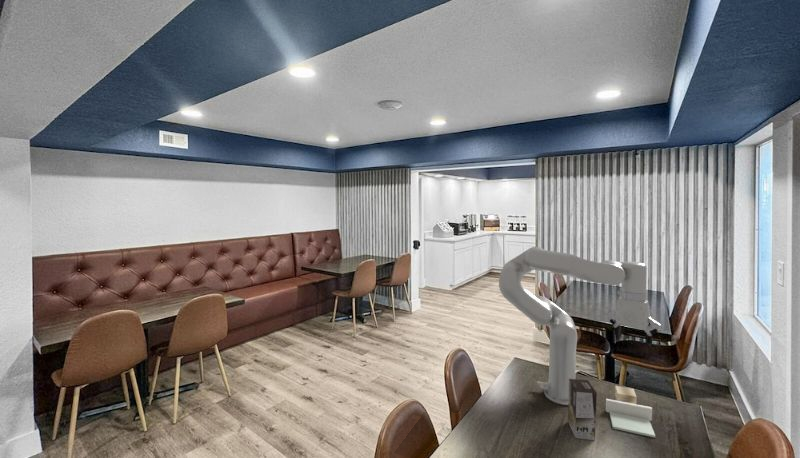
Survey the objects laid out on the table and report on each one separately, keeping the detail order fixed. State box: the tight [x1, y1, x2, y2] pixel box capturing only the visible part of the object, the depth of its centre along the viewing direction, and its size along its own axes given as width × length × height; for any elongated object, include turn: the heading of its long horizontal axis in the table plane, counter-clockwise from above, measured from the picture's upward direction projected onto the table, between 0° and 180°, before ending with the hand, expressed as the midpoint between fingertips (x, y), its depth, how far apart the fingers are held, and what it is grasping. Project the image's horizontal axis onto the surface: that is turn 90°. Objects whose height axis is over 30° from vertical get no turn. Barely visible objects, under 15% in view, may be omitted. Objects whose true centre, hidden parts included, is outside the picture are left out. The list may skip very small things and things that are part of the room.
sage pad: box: [609, 412, 656, 438], centre depth 122 cm, size 12×9×1 cm
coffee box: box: [567, 378, 598, 441], centre depth 119 cm, size 9×6×16 cm
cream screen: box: [605, 398, 653, 422], centre depth 127 cm, size 14×1×4 cm, turn 66°
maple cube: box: [614, 385, 638, 404], centre depth 133 cm, size 6×6×6 cm
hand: (632, 341), depth 130 cm, fingers open, 9 cm apart
